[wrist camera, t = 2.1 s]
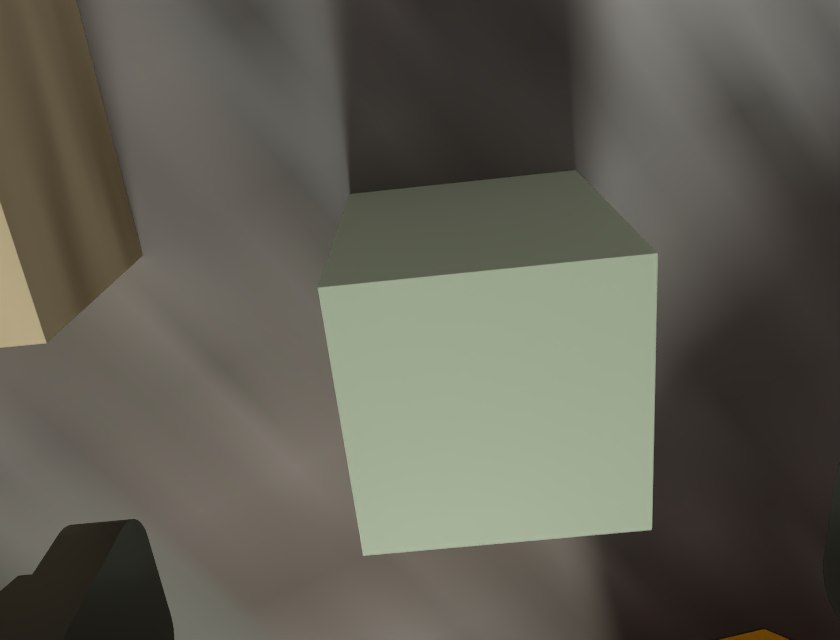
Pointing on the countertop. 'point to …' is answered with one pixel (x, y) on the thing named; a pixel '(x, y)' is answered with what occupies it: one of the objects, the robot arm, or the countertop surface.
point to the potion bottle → (757, 636)
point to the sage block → (492, 362)
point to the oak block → (55, 175)
